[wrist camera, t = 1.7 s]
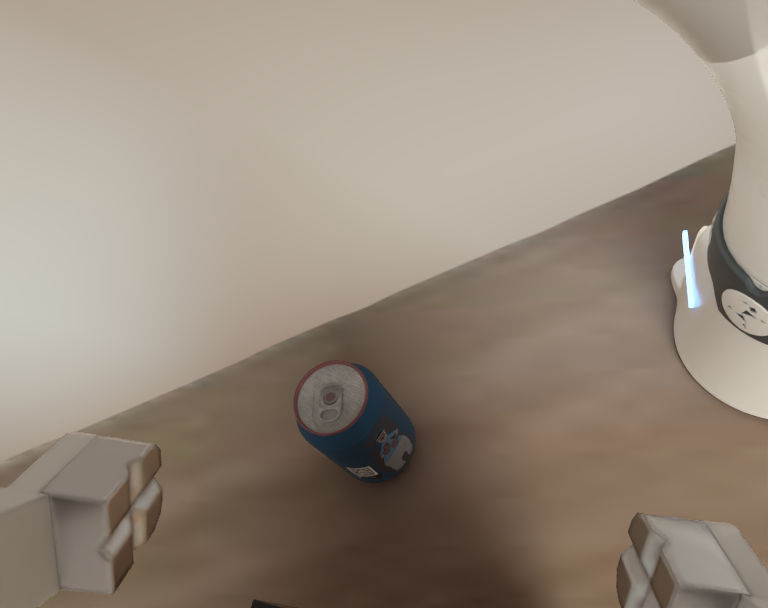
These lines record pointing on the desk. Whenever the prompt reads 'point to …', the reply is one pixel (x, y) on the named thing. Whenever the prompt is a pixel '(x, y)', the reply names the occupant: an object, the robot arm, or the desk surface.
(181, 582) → the desk surface
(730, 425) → the desk surface
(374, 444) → the soda can
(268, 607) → the shelf
